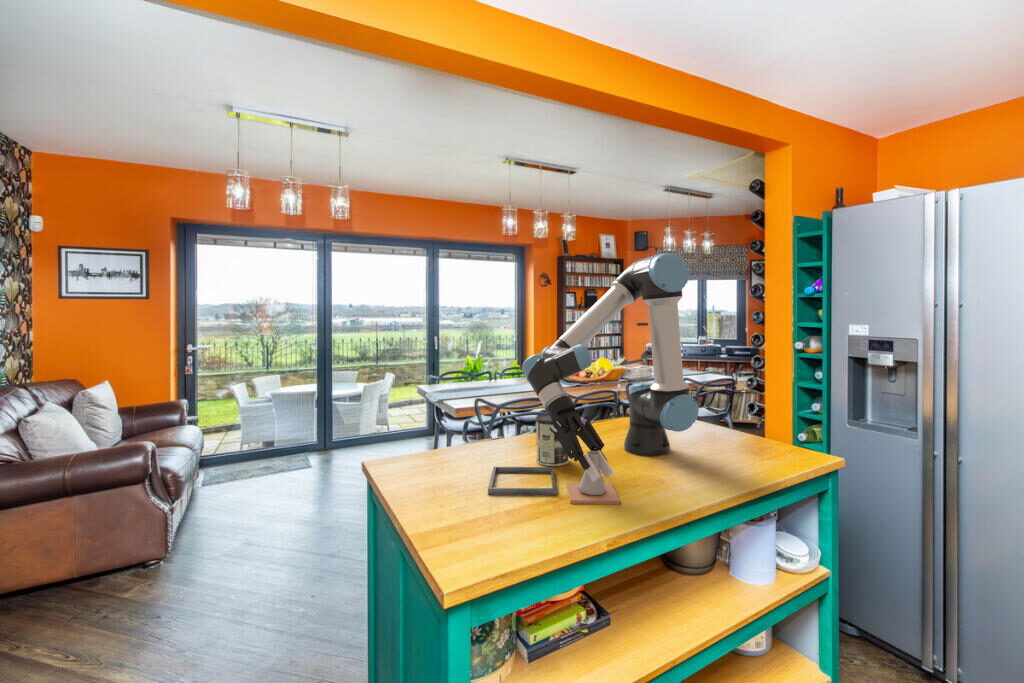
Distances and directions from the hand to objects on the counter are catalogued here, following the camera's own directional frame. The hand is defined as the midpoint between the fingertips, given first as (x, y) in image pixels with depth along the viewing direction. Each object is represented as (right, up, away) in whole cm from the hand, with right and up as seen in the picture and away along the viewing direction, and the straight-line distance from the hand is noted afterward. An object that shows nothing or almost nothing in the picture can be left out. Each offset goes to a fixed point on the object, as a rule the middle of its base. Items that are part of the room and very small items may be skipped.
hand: (603, 477), depth 114 cm
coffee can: (-10, -4, +31) cm, 32 cm away
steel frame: (-20, -5, +12) cm, 24 cm away
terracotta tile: (-2, -5, +3) cm, 7 cm away
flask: (-2, -5, +3) cm, 6 cm away
